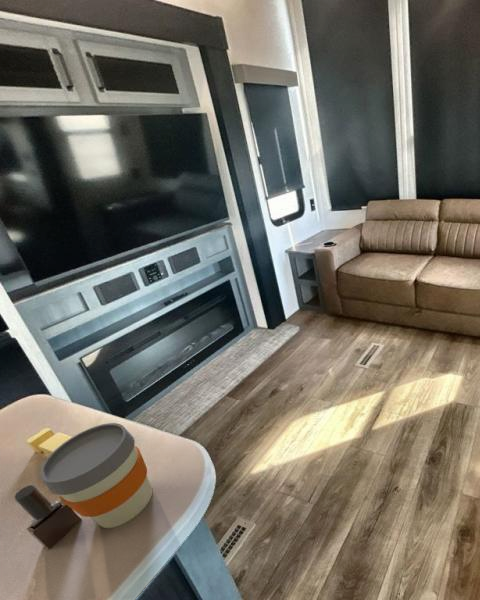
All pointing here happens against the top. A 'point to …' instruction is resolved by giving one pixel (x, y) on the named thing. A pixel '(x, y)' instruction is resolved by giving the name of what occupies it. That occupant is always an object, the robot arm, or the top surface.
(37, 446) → the butter slice
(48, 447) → the butter stick
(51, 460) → the reusable coffee cup
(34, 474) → the top surface
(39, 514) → the knife
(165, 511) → the top surface
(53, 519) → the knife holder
